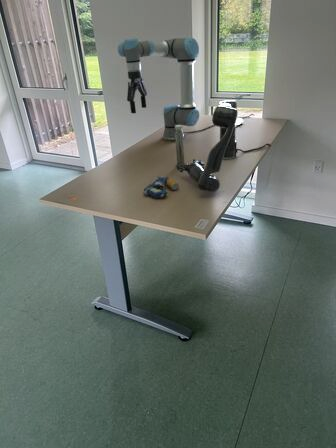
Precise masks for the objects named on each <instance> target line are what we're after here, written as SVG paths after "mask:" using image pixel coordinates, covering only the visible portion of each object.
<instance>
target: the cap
mask: <svg viewBox="0 0 336 448" xmlns="http://www.w3.org/2000/svg"><path fill="white" fill-rule="evenodd" d="M175 129H182V130H183V125H176V126H175Z"/></svg>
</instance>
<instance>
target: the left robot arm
mask: <svg viewBox="0 0 336 448" xmlns="http://www.w3.org/2000/svg"><path fill="white" fill-rule="evenodd" d="M117 53H118V55H119V56H121V57H123V58H125V63H126V69H127V78H128V80H130V81H128V82H127V94H126V95H127V97H126V101H127V102H129V107H130V113H131V114H137V109H136V102H135V96H136V92H137V91H138V93H139V94H140V103H141V108H143V109H146V108H147V99H146V96H148V91H147V89H146V86H145V82H144V79H143V75H142V71H141V70H142V65H141V58H143V57H144V58H145V57H160V58H168V59H176V60H177V64H178V65H179V79H180V80H179V82H180V104H171V105H166V106H165V107H164V108H163V123H164V130H163V135H162V139H163V140H164V141H167V142H176V139H175V133H176V129H175V126H176V125H182V126H185V127H195V126H196V125H197V123H198V122H199V119H200V111H199V109H197V105H196V104H195V102H194V64H195V63H196V60H197V58H198V57H199V54H200V46H199V43H198V41H197V39H195V38H194V37H179V38H170V39H166V40H165V39H164V40H160V41H151V40H142V41H141V40H140V41H139V39H138V38H126V39H124V41H123V42H122V41H121V42H120V43H118V45H117ZM251 116H255V115H254V113H251V114H249V115H247V116H242V117H240V118H241V119H245V118H249V117H251ZM214 126H215V125H214V124H211V125H210V126H207V127H204V128H202V129H199V130H193V131H184V132H183V128H182V129H181V130H182V133H183V138H184V137H185V136H184V134H191V133H198V132H202V131H205V130H207V129H209V128H212V127H214ZM215 127H216V126H215Z"/></svg>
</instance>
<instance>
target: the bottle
mask: <svg viewBox="0 0 336 448" xmlns="http://www.w3.org/2000/svg"><path fill="white" fill-rule="evenodd" d="M182 132H183V129H182V130H181V129H176V133H175V139H176V141H175V151H176V152H175V154H176V166H177V165H178V163H179V162H181V163H182V164H184V163H185V150H184V147H185V146H184V137H183V134H184V133H182ZM182 167H183V166H182Z"/></svg>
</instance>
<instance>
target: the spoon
mask: <svg viewBox="0 0 336 448" xmlns="http://www.w3.org/2000/svg"><path fill="white" fill-rule="evenodd" d="M243 122H244V120H243V118H241V117H237V120H236V127H237V126H239V125H241V124H243Z"/></svg>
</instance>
